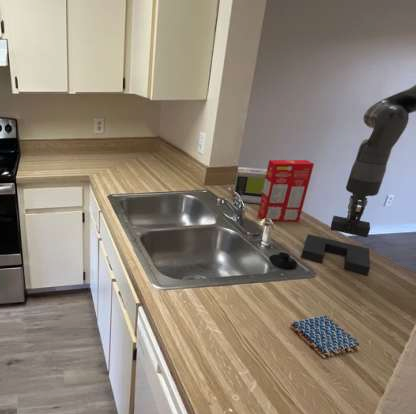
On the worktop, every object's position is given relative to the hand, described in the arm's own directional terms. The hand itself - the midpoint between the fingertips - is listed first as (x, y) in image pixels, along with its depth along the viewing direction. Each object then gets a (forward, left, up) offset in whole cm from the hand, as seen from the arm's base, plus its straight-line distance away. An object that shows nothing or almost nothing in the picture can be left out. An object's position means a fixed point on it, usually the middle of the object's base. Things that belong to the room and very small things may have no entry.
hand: (348, 229), depth 101 cm
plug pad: (0, 0, 0) cm, 0 cm away
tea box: (+37, -46, -14) cm, 60 cm away
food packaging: (+22, -30, -14) cm, 40 cm away
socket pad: (+1, -8, -14) cm, 16 cm away
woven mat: (+1, +37, -14) cm, 40 cm away
